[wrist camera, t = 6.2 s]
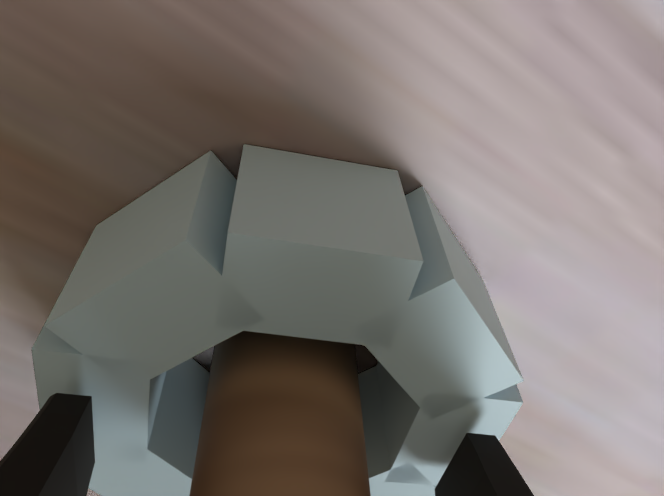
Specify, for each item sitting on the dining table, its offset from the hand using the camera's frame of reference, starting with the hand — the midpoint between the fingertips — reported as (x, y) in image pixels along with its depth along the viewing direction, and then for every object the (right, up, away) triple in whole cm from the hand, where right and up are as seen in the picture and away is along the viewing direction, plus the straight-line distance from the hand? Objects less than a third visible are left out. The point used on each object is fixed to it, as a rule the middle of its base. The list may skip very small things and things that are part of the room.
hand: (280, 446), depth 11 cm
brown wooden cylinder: (0, +2, +3) cm, 3 cm away
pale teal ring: (0, +2, +3) cm, 3 cm away
